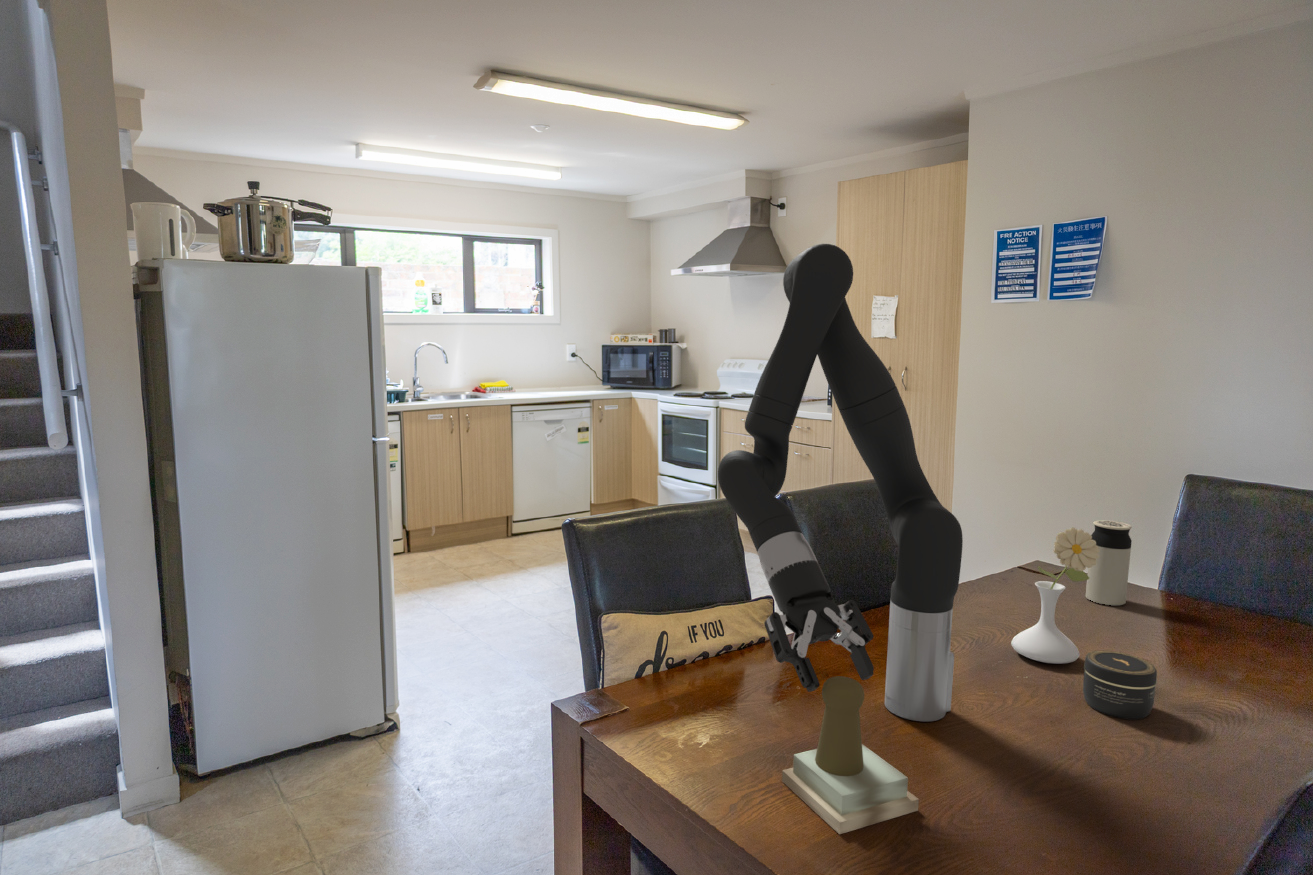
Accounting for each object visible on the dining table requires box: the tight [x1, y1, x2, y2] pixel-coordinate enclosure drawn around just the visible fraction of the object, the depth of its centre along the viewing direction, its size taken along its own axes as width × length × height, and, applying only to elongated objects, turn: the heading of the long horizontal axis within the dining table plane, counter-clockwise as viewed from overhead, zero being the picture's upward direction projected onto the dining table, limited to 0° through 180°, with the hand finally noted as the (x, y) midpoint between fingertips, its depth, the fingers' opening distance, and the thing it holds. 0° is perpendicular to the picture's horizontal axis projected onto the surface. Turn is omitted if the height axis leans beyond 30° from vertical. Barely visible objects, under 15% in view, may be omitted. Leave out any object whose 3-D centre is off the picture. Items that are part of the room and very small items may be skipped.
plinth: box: [781, 743, 920, 835], centre depth 98 cm, size 12×12×4 cm
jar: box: [1082, 649, 1158, 720], centre depth 123 cm, size 10×10×8 cm
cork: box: [815, 675, 865, 776], centre depth 97 cm, size 6×6×11 cm
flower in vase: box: [1010, 527, 1100, 665], centre depth 142 cm, size 13×11×25 cm
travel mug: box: [1085, 520, 1133, 607], centre depth 175 cm, size 8×8×18 cm
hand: (841, 683), depth 99 cm, fingers open, 8 cm apart
